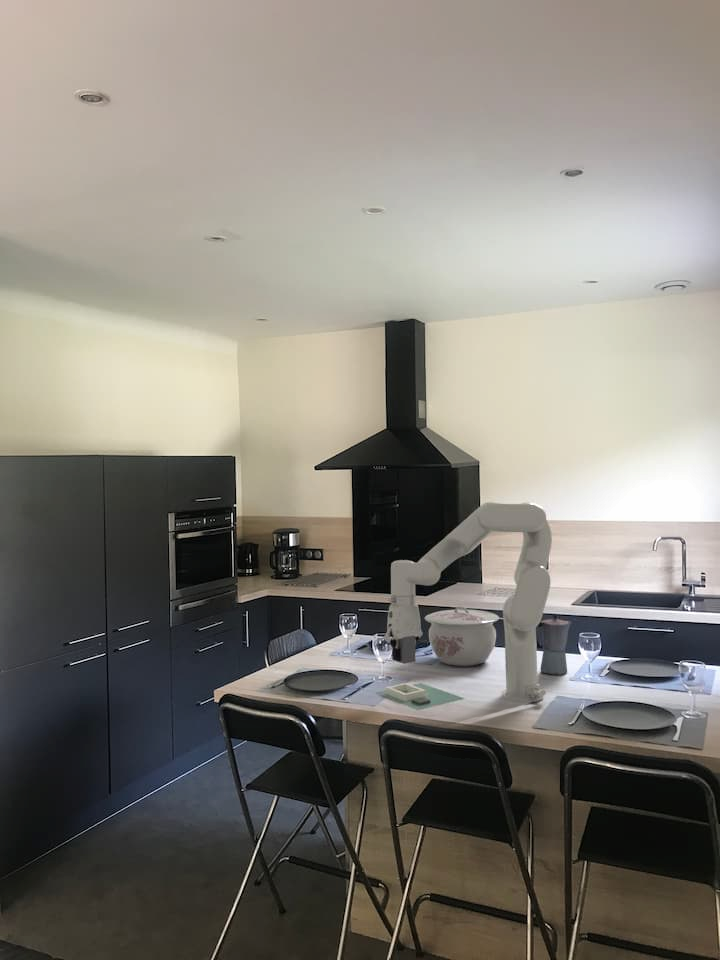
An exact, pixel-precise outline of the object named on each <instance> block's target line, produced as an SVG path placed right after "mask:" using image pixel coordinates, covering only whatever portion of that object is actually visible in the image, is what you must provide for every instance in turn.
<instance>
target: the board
mask: <svg viewBox="0 0 720 960" xmlns="http://www.w3.org/2000/svg"><path fill="white" fill-rule="evenodd" d="M375 694H377V695H379V696H382V697H383V698H386V699H389V700H392V701H394V702H397V703H399V704H402V705H404V706H407V707H409V708H411V709H415V710H418V711H420V710H424V709H427V708H432V707H436V706H441V705H444V704H449V703H453V702H456V701H457V702H458V701H461V700H465V698H466V697H465V698H464V697H462V696H459V695H457V694H453V693H451V692H448V691H445V690H442V689H439V688H436V687H433V686H431V685H428V684H424V683H422V682H420V683H419V682H418V683H415V684H410V683H407V682H404V683H401V684H400V683H399V684H396V685H391V686H386V687H385V690H383V691H378V692H375Z"/></svg>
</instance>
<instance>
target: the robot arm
mask: <svg viewBox="0 0 720 960" xmlns="http://www.w3.org/2000/svg"><path fill="white" fill-rule="evenodd" d="M494 532H495V533H496V532H499V533H500V532H501V533H522V535H523V539H522V547H521V551H520V555H519V558H518V562H517V565H516V567H515V570H514V575H513V577H514V578H513V579H514V580H513V581H514V583H515V584H516V587H515V591H514V593H513V594H512V595H510V596H509V597H507V599H506V600H505V601H504V603H503V607H502V617H503V627H504V628H503V629H504V631H503V632H504V653H505V654H504V657H505V686H506V687H505V689H504V690H502V691H501V695H502V696H504V697H506V698H509V699H513V700H517V699H518V700H524V701H525V700H526V701H527V700H535V701H533V703H534V702H535V703H536V702H539V701H542V699H543V698H544V696H546V694H547V691H546V690H544V689H541V684H540V683H538V659H537V658H538V654H537V651H538V650H537V649H538V648H537V641H536V633H537V627H538V624H539V622H541V621H542V618H543V615H544V611H545V608H546V603H547V600H548V596H549V592H550V589H551V575H550V573H549V571H548V569H547V567H548V562H549V557H550V552H551V549H552V543H553V541H552V540H553V537H552V536H553V535H552V531H551V527H550V524H549V522H548V519H547V515H546V511H545V509H544V508H543V507H542V506H541V505H538V504H537V503H533V502H522V503H499V502H492V501H489V502H485V503H483V504H481V505H480V506H479V507H478V508H476V509H475V510H474V511H473V512H472V513H471V514H469V515H468V517H467V518H466V519H464V520H463V521H462V522H461V523H460V524H459V525H457V526H456V527H455V528H454V529H453V530H452V531H451V532H450V533H448V534H447V535H446V536H445V537H444V538H443V539H442V540H440V541H439V542H438V543H437V544H435V545H434V546H432V548H431V549H430V550H429V551H428V552H427V553H426V554H424V555H423V556H422V557H421V558H420V559H419V560H418V561H417V562H414V561H412V560H408V559H404V560H403V559H399V560H394V561H393V562H391V564H390V565H391V566H390V598H388V601H387V602H388V603H390V605H389V607H388V614H387V622H386V623H387V625H386V627H387V631H386V632H385V635H384V636H383V641H385V642H387V643H388V644H389V645H390V647H391V648H392V647H393V660H392V661H394V660H396V661H395V662H397V661H398V663H400V662H399V661H401V649H400V648H399V645H400V639H403V637H409V636H415V647H417V642H418V641H419V640H420V638H421V637H422V636H423V634H424V632H423V631H422V626H421V625H422V624H421V614H420V611H419V610H420V608H419V605H418V604H417V603H416V585H422V586H433V585H436V584H437V583H438V581H439V580H440V578H441V573H442V571H444V570H445V569H446V568H447V567H449V566H450V565H451V564H452V563H453V562H454V561H456V560H458V559H459V558H461V557H464V556H466V555H468V554H469V553H471V552H473V550H475V549H476V548H477V547H478V546H479V545H480V544H481V543H483V542H484V541H485V540H486V539H487V538H488V537H489V536H491V534H493V533H494Z"/></svg>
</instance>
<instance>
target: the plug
mask: <svg viewBox="0 0 720 960" xmlns="http://www.w3.org/2000/svg"><path fill="white" fill-rule="evenodd" d="M399 648H400V649H401V661H399V662H398V661H396V660H393V647H391V658H392V659H391V660H392V661H393V662H394V661H395V662H398V663H400V664H409V663H415V662H416V646H415V636H409V637H403V639H400V645H399Z"/></svg>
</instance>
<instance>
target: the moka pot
mask: <svg viewBox="0 0 720 960" xmlns="http://www.w3.org/2000/svg"><path fill="white" fill-rule="evenodd" d="M552 616H553V618H550V619H544V620H540V622H539V624H538V626H537V627H538V628H541V633H542V643H543V645H540V643H539V639H538V634H537V632H536V641H537V647H536V648H537V649H543V652H542V656H541V663H540V671H541V672H542V673H544V674H548V675H549V674H550V675H566V674H568V666H567V655H566V653H567V652H566V651H565V650H566V645H567V642H568V635H569V628H570V626H571V625H572V622H571V621H568V620H562V619H560V618H559V619H558V614H556V613H554V614H552Z"/></svg>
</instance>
